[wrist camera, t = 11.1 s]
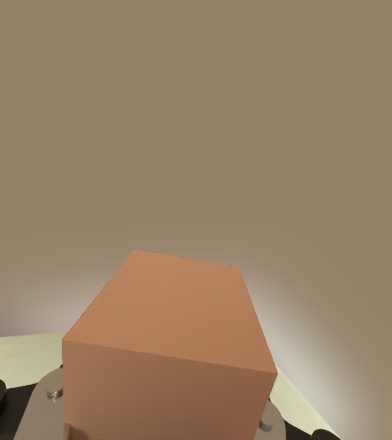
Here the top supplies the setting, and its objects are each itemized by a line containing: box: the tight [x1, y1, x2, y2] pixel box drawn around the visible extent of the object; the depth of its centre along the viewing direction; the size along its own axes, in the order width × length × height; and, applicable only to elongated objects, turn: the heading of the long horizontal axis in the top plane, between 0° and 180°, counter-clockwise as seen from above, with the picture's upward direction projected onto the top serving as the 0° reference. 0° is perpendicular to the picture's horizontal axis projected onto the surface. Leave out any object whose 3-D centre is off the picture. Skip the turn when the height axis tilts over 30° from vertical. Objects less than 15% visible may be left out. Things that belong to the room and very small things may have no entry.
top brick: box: [62, 249, 278, 440], centre depth 8 cm, size 5×5×10 cm
